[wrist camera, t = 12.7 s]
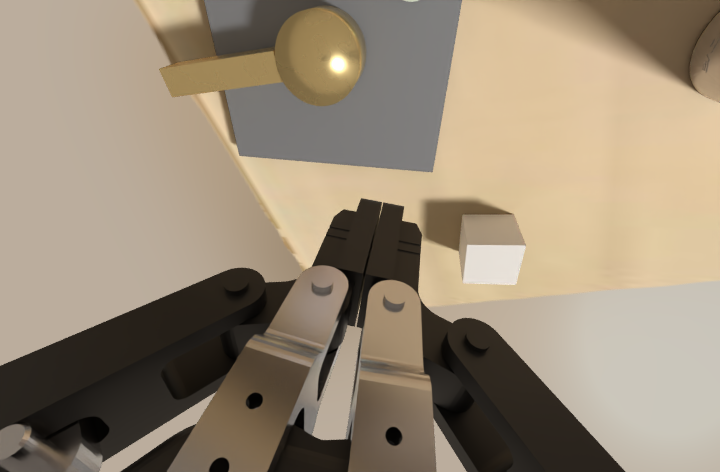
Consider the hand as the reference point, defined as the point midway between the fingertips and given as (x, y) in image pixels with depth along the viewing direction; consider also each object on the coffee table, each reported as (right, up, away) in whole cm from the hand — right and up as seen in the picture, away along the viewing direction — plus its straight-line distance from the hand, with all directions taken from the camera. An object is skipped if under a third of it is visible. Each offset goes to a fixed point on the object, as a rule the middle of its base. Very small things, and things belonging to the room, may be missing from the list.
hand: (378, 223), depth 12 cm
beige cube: (+15, 0, +30) cm, 34 cm away
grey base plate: (-3, +17, +20) cm, 26 cm away
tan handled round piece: (-9, +16, +19) cm, 26 cm away
